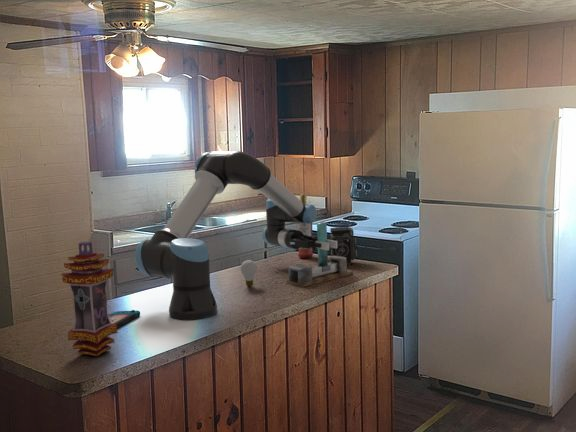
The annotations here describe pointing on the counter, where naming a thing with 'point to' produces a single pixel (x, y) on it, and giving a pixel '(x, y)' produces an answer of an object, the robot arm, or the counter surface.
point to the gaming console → (123, 317)
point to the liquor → (305, 233)
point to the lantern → (89, 301)
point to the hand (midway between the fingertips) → (332, 245)
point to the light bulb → (248, 271)
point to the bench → (303, 276)
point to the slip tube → (323, 254)
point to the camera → (344, 243)
